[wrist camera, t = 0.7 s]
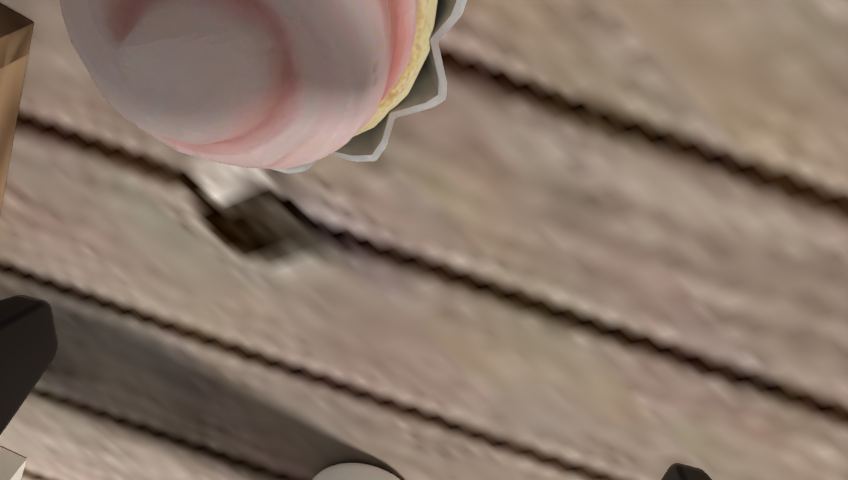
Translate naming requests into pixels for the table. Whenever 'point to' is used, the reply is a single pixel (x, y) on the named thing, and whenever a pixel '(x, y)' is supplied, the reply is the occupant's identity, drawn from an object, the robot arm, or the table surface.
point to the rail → (11, 80)
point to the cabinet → (11, 465)
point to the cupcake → (265, 72)
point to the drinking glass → (354, 472)
